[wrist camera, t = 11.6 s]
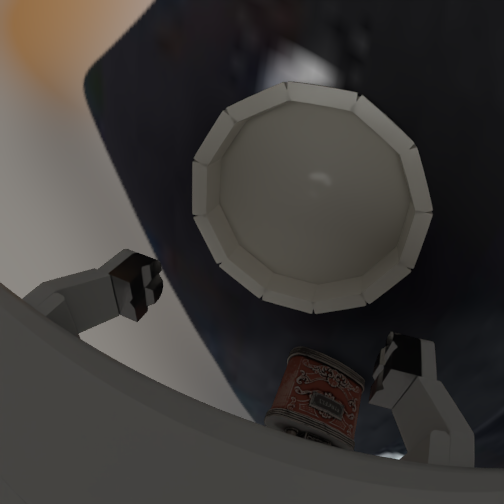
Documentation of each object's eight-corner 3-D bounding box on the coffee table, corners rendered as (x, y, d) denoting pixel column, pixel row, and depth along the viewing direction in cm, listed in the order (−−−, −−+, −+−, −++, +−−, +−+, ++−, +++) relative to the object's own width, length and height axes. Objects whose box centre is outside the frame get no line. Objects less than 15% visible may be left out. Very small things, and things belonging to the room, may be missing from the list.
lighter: (372, 379, 26) (357, 476, 18) (350, 395, 28) (330, 484, 20) (300, 340, 27) (264, 439, 18) (282, 359, 29) (245, 450, 20)
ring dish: (443, 115, 15) (457, 120, 12) (385, 305, 22) (385, 332, 20) (218, 75, 18) (195, 75, 16) (211, 259, 25) (193, 279, 23)
